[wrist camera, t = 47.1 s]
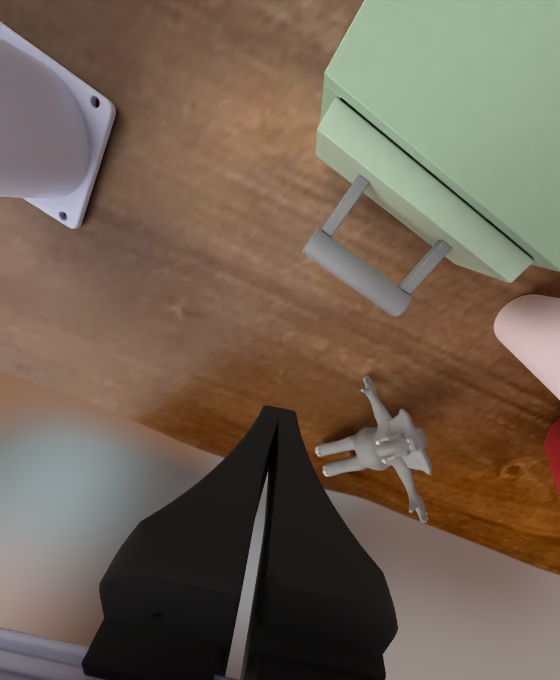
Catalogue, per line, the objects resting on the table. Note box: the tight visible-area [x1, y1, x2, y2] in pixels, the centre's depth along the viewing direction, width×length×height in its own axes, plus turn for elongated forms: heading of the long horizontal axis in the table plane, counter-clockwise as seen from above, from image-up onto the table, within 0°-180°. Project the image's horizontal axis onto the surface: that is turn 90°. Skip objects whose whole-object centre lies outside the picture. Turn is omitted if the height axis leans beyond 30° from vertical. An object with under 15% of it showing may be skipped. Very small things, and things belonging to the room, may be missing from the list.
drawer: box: [302, 97, 534, 317], centre depth 12 cm, size 17×10×5 cm, turn 146°
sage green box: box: [320, 0, 560, 272], centre depth 11 cm, size 14×12×7 cm
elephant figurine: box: [315, 376, 432, 523], centre depth 21 cm, size 10×6×9 cm
